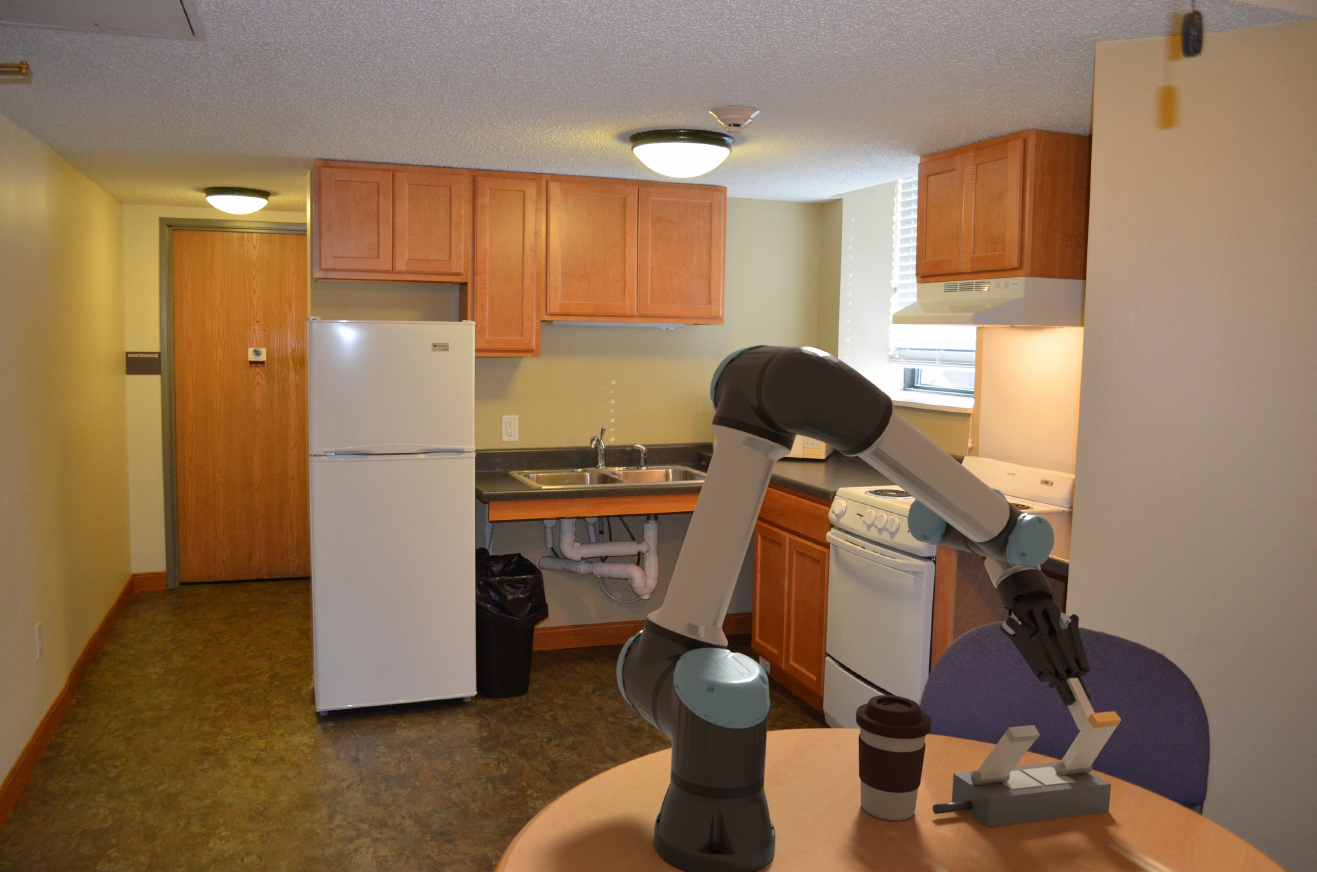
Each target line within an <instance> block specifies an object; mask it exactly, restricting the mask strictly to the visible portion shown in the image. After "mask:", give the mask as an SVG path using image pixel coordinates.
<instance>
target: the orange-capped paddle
mask: <svg viewBox="0 0 1317 872" xmlns="http://www.w3.org/2000/svg"><path fill="white" fill-rule="evenodd" d="M1121 722H1122V719H1121V717H1120V716H1119V715H1118V713H1117V712H1116V711H1103V712H1094V713H1091V714H1090V716H1089V717H1088V719H1087V721H1086V723H1085V724H1084V726H1083V727H1082V729H1081V730H1079V732H1078V733H1077V736H1076V737H1075V739H1074V740H1073V742H1072V743H1071V745H1070V746H1069V748H1068V750H1067V751H1066V753H1065V754H1064V756H1063V757H1062V759H1061V760H1060V761H1055V762H1056V763H1055V771H1056V773H1057V774H1059V775H1068V774H1077V773H1086V772H1091V773H1092V771H1093V763H1094V761H1095V760H1096V758H1097V757H1098V755H1099V754H1100V752H1101V751H1102V749H1103V748H1104V746H1105V745H1106V743H1107V742H1108V740H1109V739H1110V738H1111V736H1112V734H1113V733H1114V731H1115V730H1116V729H1117V727H1118V726H1119V724H1120V723H1121Z"/></svg>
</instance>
